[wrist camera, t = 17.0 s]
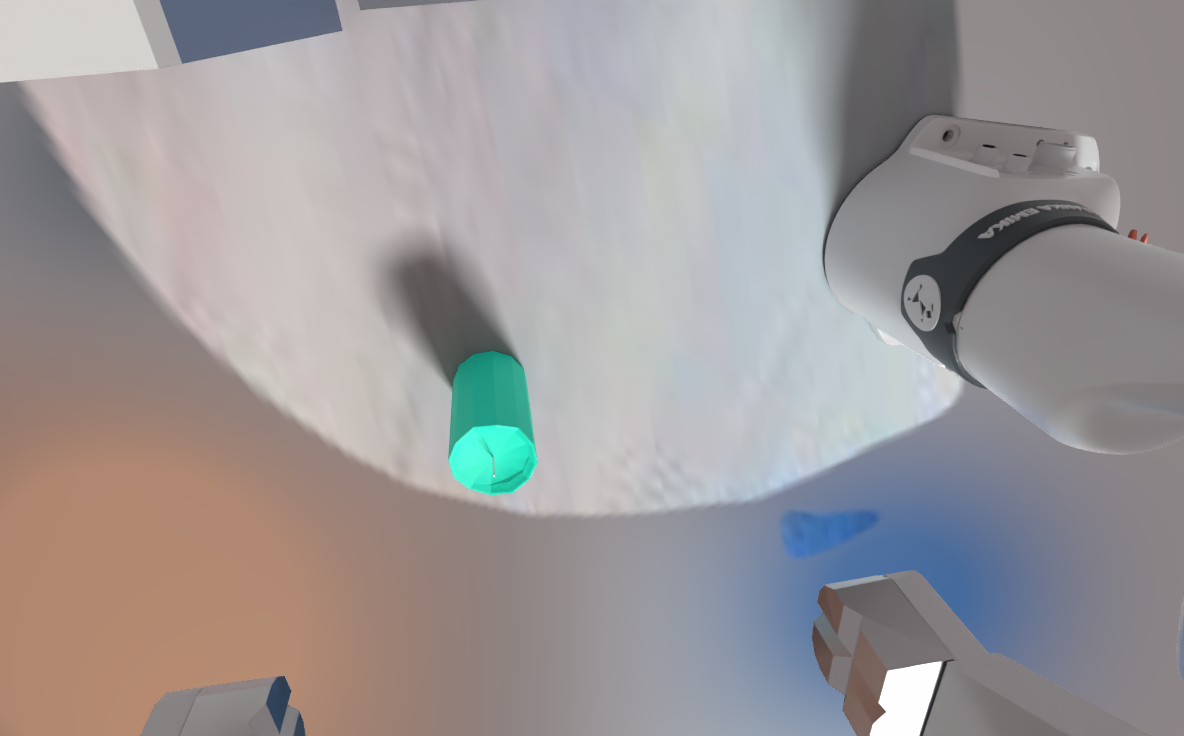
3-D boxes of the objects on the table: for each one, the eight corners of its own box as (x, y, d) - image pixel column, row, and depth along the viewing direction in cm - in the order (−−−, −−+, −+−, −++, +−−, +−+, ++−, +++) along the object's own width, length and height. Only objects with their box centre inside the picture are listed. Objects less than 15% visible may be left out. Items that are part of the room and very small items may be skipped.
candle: (538, 396, 53) (553, 489, 43) (474, 423, 54) (473, 523, 44) (507, 339, 50) (516, 425, 40) (439, 369, 51) (430, 461, 40)
